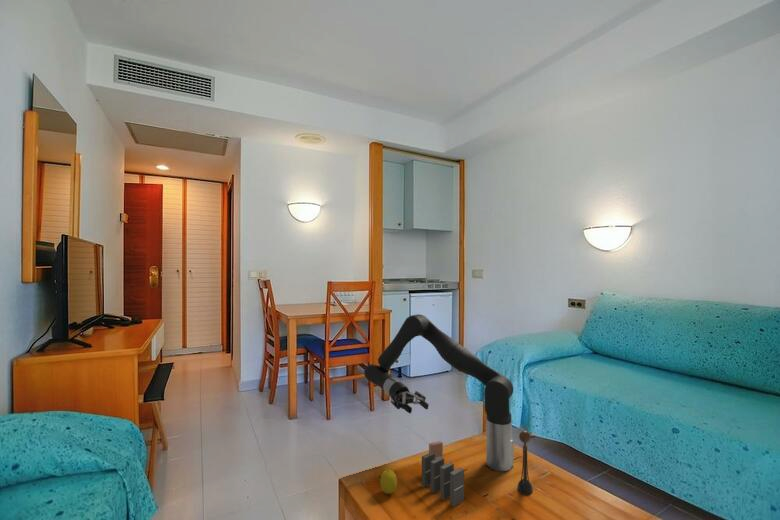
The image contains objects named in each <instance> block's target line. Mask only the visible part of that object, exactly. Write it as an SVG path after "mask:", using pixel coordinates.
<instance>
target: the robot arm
mask: <svg viewBox="0 0 780 520" xmlns="http://www.w3.org/2000/svg"><path fill="white" fill-rule="evenodd" d="M419 336H420V337H422V338H424V340H426V341H428V342H429V343H430V344H431V345H432V346H433V347H434V348H435V350H436V351H437V353H438V354H439V356H440V357H441V359H442V360H444V361H445V362H446V363H447V364H449V365H450V366H452V368H454V369H455V370H456V371H459V372H461V373H463V374H465V375H468V376H470V377H473V378H474V379H475V380H476V379H477V380H478V381H479V382H480V383H482V384H483V385H484V387H485V388H484V393H483V395H484V412H485V415H486V424H485V425H486V452H485V453H486V466H488V467H489V468H490V469H492V470H494V471H498V472H508V471H510V470H511V469H512V467H514V463H515V462H514V440H513V439H512V413H511V412H510V398H511V397H512V395H513V393H514V385H513V383H512V381H511V380H510V379H509V378H508V377H506V376H505V375H504V374H501V373H500V372H499V371H497V370H495V369H494V368H492V367H490V366H489V365H487V364H486V363H485V362H483V361H482V360H481V359H479V358H478V356H476V355H475V354H473V353H471V351H469V350H468V349H467V348H466V347H464V346H463V345H462V344H460V343H459V342H458V341H456V340H454V339H453V338H452V337H451V336H449V335H448V334H446V333H445V332H443V331H442V330H441V329H439V328H438V327H437V326H436V325H435V324H434V323H433V322H432V321H431V320H430V319H429V318H428V317H426V316H425V315H423V314H412V315H410V316H408V317H407V318H405V320H404V321H403V323H402V325H401V327H400V329H399V330H398V332H397V333H396V335H395V336H394V338H393V340H391V342H390V343H389V344H388V346H387V347H386V348H385V349H384V350H383V351H382V352H381V354H380V355H379V357H378V358H377V363H378V364H379V365H377V364H372V363H371V364H368V365H366V366H365V368H364V371H363V374H364V378H365V379H366V380H367V381H369V382H370V383H372V384H374V385H376V386H378V387H379V388H380V389H382V391H384V392H385V393H386V395H388V397H390V398H391V399H390V403H391V404H392V406H394V407H395V408H396V409H397V410H400V409H401V410H405V412H407V413H408V414H411V413H412V411H413V408H412V406H410V405H409V404H413V405H420V406H421V407H422V408H423V409H425V410H428V409H429V407H430V406H429V403H428V402H427V401H426V398H427V397H426V396H425V395H424V394H422V393H420V392H419V391H415V392H411V391H410V390H409V388H408V386H407V385H405V384H404V383H402V382H401V381H400V380H399V379H397V378H395V377H394V376H392V375H391V374H390V373H389V372H390V370H391V367H392V366H393V365H394V364H395V362H396V361H398V359H399V358H400V357H401V354H402V353H403V351H404V349H405V347H406V346H407V344H409V342H411V341H412V340H414V338H415V337H419Z"/></svg>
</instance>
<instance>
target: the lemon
mask: <svg viewBox="0 0 780 520" xmlns="http://www.w3.org/2000/svg"><path fill="white" fill-rule="evenodd" d="M379 481H380V484H379V485H380V489H381V490H382V491H383V492H384V494H385V493H386V494H387V495H390V494H392V493H393V492H394V491H395V490H396V489H397V483H398V480H397V476H396V473H395V472H394V471H393V470H391V469H386V470H384V471H383V472H382V474H381V476H380V480H379Z"/></svg>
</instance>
